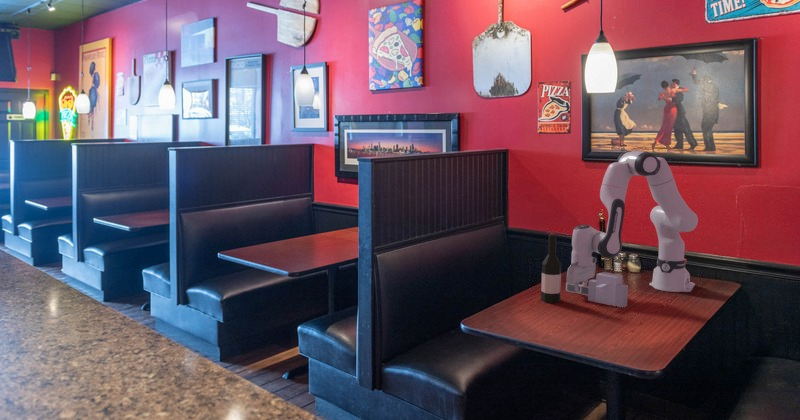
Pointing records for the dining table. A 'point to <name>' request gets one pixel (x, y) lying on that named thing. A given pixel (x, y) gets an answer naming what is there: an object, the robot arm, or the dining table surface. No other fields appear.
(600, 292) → the white block with peg
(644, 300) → the dining table surface
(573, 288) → the white u-shaped bracket
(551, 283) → the wine bottle
